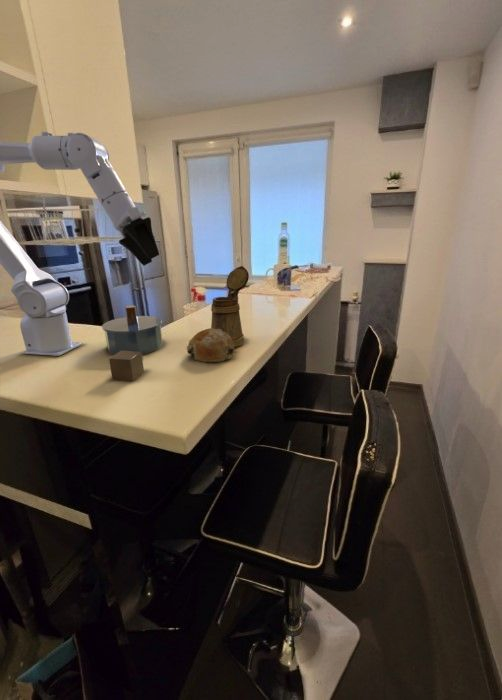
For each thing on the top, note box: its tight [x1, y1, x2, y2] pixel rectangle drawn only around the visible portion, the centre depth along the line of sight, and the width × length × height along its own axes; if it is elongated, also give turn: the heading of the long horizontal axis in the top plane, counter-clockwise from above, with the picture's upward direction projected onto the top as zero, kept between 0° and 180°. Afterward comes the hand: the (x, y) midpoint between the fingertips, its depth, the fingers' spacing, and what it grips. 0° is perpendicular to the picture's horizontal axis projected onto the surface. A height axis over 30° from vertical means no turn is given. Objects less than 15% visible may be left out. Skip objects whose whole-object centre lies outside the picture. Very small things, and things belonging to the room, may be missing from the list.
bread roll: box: [186, 327, 235, 363], centre depth 73 cm, size 10×10×8 cm
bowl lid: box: [101, 305, 163, 334], centre depth 78 cm, size 14×14×5 cm
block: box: [108, 351, 145, 382], centre depth 64 cm, size 4×4×4 cm
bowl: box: [104, 324, 163, 355], centre depth 79 cm, size 13×13×6 cm
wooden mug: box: [210, 265, 250, 348], centre depth 82 cm, size 9×14×18 cm, turn 153°
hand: (151, 260), depth 70 cm, fingers open, 7 cm apart
